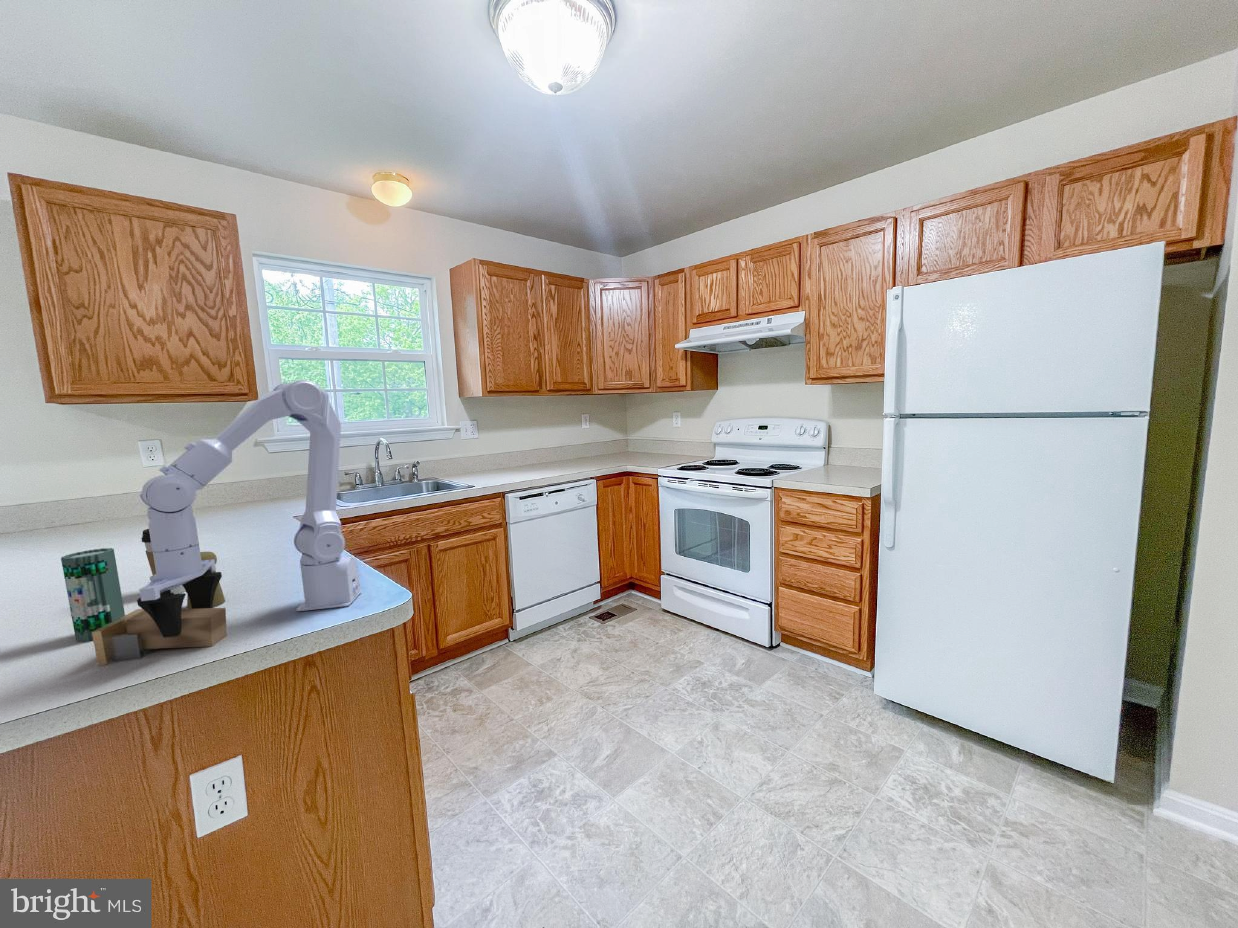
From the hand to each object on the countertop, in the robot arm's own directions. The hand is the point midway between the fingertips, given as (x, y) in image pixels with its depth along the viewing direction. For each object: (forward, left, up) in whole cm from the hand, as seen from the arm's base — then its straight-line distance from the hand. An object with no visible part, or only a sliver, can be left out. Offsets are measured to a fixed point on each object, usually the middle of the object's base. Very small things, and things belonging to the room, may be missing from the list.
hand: (188, 625), depth 82 cm
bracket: (+8, 0, -3) cm, 9 cm away
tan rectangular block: (+2, 0, -3) cm, 3 cm away
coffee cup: (+22, -32, -3) cm, 39 cm away
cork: (+9, -20, -3) cm, 22 cm away
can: (+20, -10, -3) cm, 22 cm away
